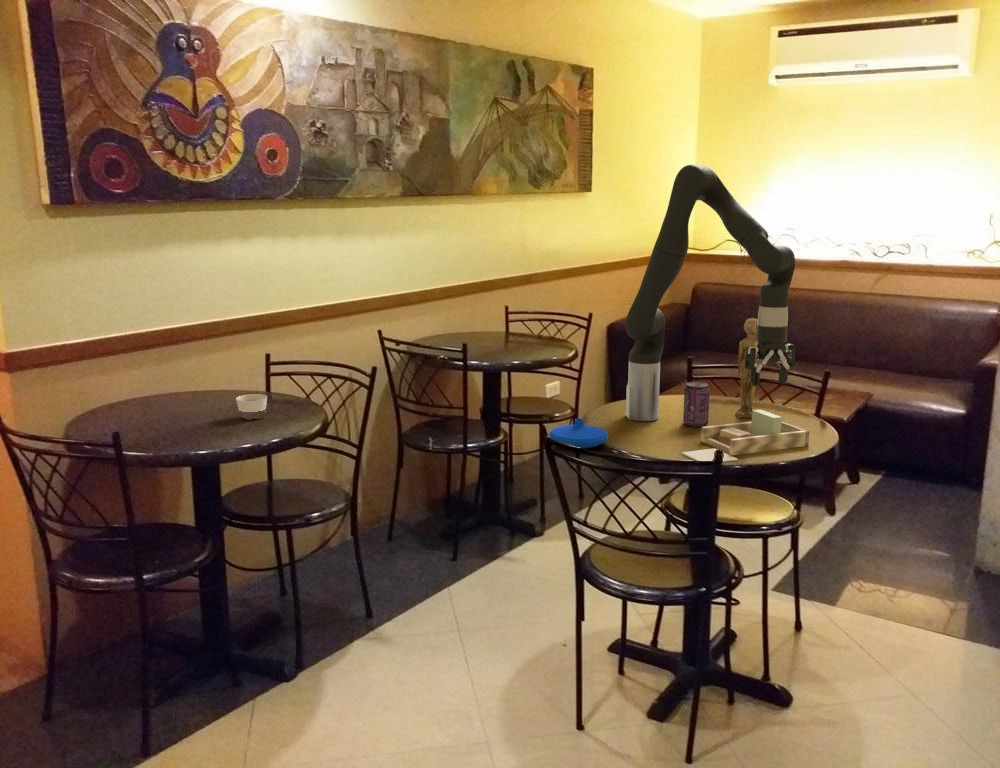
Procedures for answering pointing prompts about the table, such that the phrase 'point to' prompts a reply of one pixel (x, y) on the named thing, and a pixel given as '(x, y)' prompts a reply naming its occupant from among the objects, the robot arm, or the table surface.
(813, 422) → the table surface
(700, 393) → the beverage can
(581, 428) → the blue rounded knobbed disc
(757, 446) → the tray
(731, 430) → the offcut upper
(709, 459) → the mat
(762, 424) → the block
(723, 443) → the offcut lower
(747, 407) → the sculpture
